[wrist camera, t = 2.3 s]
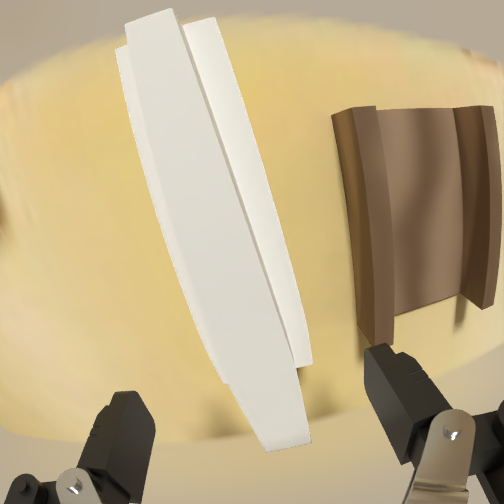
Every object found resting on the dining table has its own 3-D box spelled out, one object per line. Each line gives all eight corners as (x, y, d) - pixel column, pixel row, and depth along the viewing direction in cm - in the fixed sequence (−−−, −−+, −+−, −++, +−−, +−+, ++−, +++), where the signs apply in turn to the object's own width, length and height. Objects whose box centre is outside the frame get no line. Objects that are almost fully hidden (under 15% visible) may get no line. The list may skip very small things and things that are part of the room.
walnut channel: (462, 108, 18) (493, 106, 15) (468, 286, 23) (493, 304, 20) (331, 115, 19) (351, 107, 15) (357, 323, 24) (374, 350, 20)
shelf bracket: (230, 49, 17) (243, -10, 6) (295, 329, 29) (327, 443, 18) (151, 72, 17) (64, 53, 6) (241, 342, 30) (253, 458, 19)
